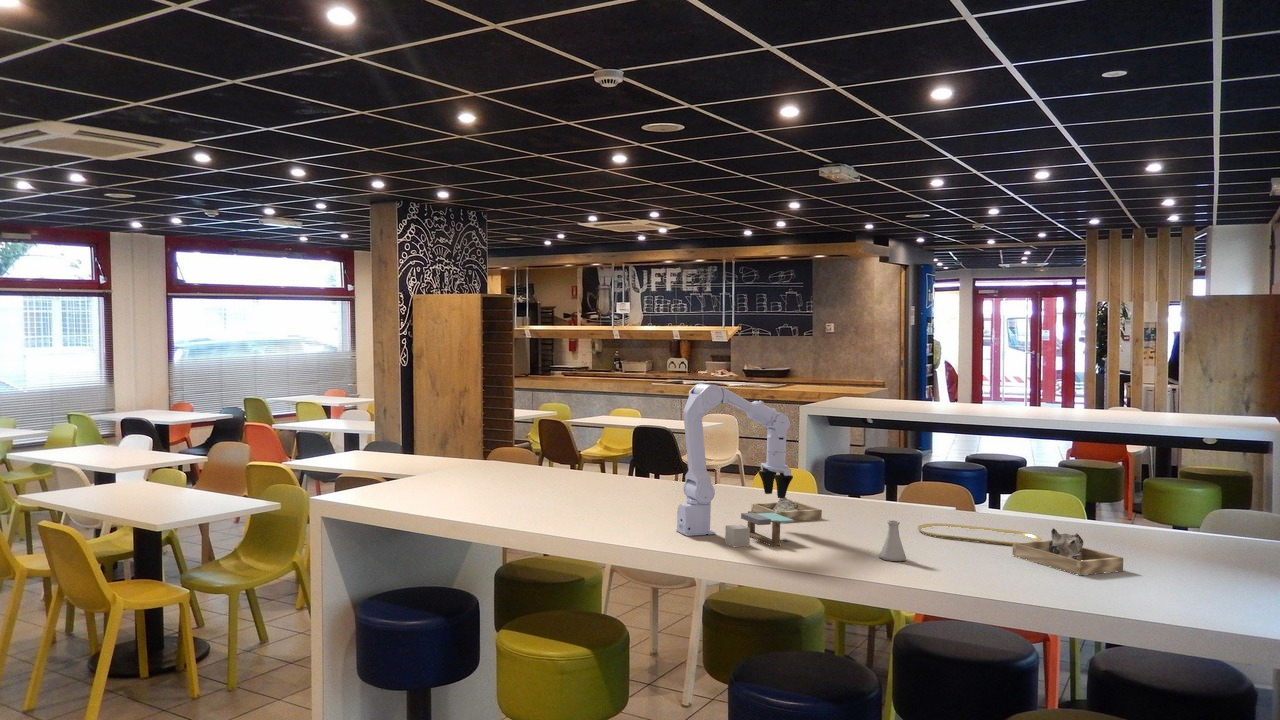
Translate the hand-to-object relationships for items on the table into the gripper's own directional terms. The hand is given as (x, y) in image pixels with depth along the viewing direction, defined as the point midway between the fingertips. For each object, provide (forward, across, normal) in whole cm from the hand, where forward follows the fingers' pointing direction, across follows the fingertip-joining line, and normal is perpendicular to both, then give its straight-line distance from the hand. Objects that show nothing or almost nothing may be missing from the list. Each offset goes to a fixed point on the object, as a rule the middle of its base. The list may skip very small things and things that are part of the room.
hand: (774, 495), depth 272 cm
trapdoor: (+5, -13, +11) cm, 18 cm away
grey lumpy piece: (+10, -61, -52) cm, 81 cm away
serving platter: (+10, -27, -54) cm, 62 cm away
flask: (+10, -43, -10) cm, 46 cm away
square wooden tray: (+10, +17, -15) cm, 24 cm away
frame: (+10, -13, +12) cm, 20 cm away
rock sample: (+10, +17, -14) cm, 24 cm away
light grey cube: (+8, -16, +22) cm, 28 cm away
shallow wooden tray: (+10, -61, -52) cm, 81 cm away
